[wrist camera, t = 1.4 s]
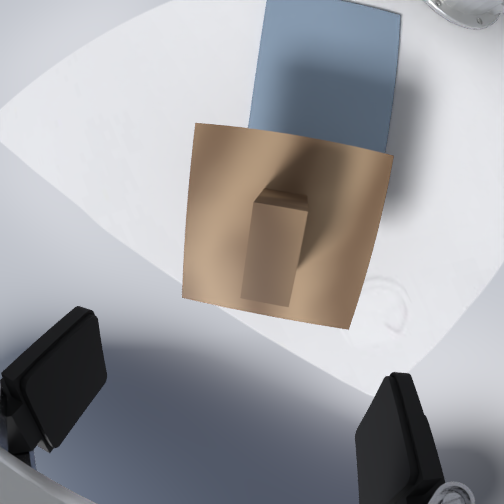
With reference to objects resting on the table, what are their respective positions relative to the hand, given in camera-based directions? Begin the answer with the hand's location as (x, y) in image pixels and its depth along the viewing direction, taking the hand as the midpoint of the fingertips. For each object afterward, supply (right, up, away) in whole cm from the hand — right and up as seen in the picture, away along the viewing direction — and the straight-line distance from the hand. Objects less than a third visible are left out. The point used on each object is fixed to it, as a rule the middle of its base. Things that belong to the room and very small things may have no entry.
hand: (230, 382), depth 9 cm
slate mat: (+8, +23, +18) cm, 30 cm away
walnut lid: (+3, +6, +15) cm, 16 cm away
